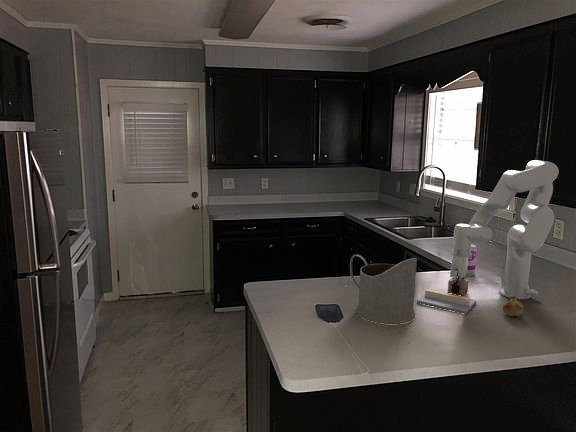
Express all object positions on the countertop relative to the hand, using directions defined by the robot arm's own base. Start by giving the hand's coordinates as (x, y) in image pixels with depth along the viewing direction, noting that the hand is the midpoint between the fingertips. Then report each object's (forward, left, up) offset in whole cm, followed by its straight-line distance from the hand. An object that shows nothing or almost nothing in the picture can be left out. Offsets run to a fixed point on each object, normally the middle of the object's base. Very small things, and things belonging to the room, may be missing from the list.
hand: (457, 290), depth 212 cm
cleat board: (0, +16, -1) cm, 16 cm away
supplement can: (+5, -32, -1) cm, 32 cm away
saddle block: (0, 0, -1) cm, 1 cm away
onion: (-25, +13, -1) cm, 28 cm away
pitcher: (+20, +41, -1) cm, 46 cm away
